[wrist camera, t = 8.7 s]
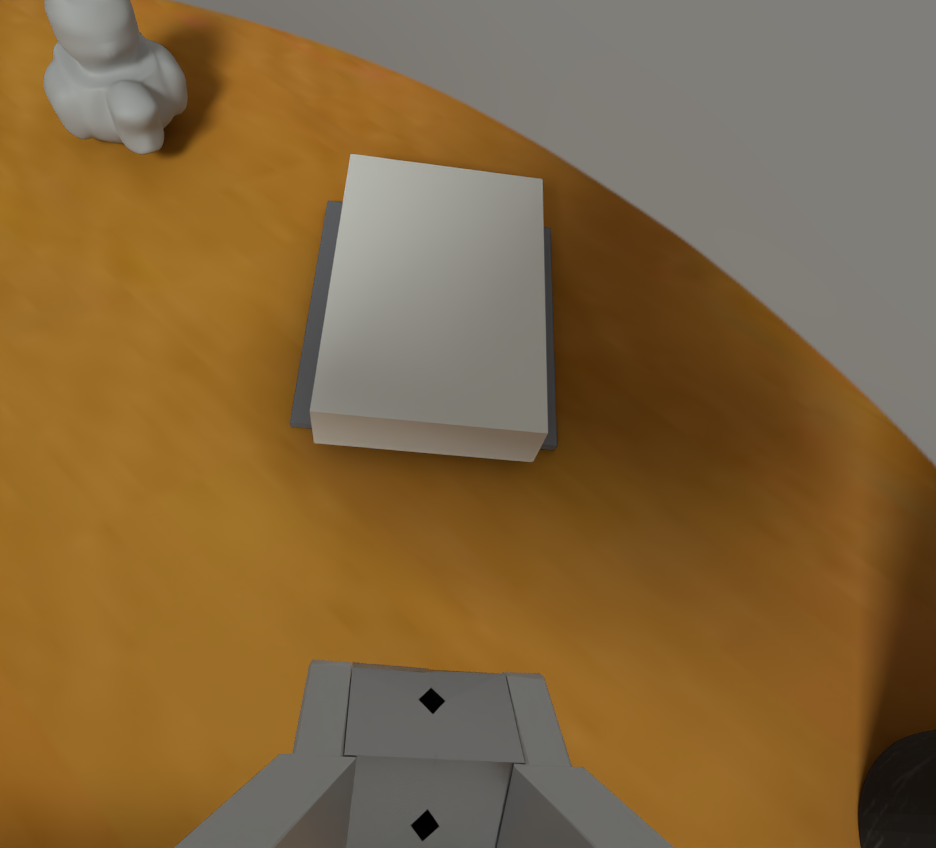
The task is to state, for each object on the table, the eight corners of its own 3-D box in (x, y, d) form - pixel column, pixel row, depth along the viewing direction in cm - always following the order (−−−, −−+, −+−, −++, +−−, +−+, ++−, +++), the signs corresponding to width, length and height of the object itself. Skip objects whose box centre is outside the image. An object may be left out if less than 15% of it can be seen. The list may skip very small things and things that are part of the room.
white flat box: (309, 411, 23) (350, 153, 29) (314, 446, 25) (351, 201, 31) (548, 433, 24) (542, 179, 29) (531, 465, 26) (529, 223, 32)
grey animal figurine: (166, 74, 34) (114, -115, 27) (222, 165, 31) (182, -14, 24) (48, 103, 32) (-42, -92, 25) (99, 203, 30) (17, 20, 23)
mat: (290, 426, 26) (290, 421, 26) (328, 207, 31) (327, 200, 31) (554, 450, 27) (556, 445, 27) (548, 234, 32) (550, 227, 32)
